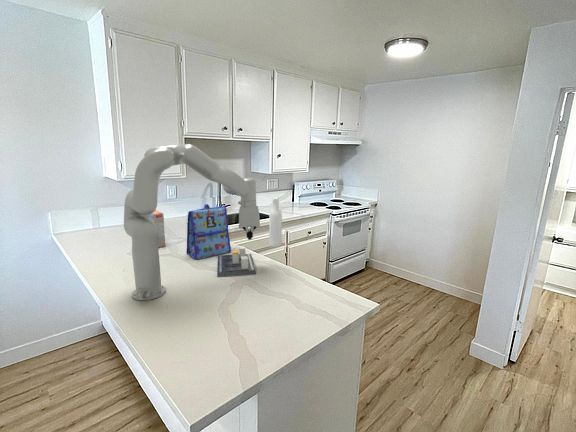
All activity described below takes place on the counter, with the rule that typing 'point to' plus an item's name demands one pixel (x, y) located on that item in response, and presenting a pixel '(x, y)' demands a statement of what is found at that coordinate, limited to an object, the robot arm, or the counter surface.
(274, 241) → the bottle
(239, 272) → the panel
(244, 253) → the block
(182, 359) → the counter surface
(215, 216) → the lunch bag
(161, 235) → the cracker box
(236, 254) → the block
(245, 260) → the block
